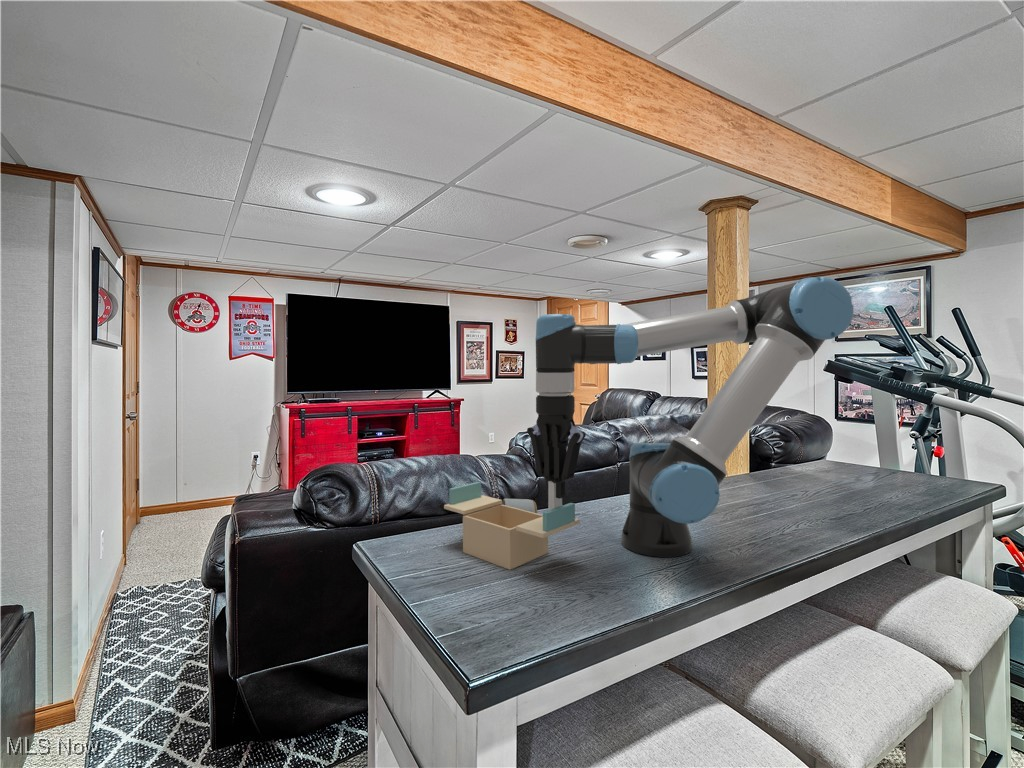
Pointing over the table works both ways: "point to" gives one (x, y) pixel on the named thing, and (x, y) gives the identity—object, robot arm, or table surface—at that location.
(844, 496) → the table surface
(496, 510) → the carton
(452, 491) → the lid
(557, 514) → the lid near
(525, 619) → the table surface
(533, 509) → the ceramic mug
